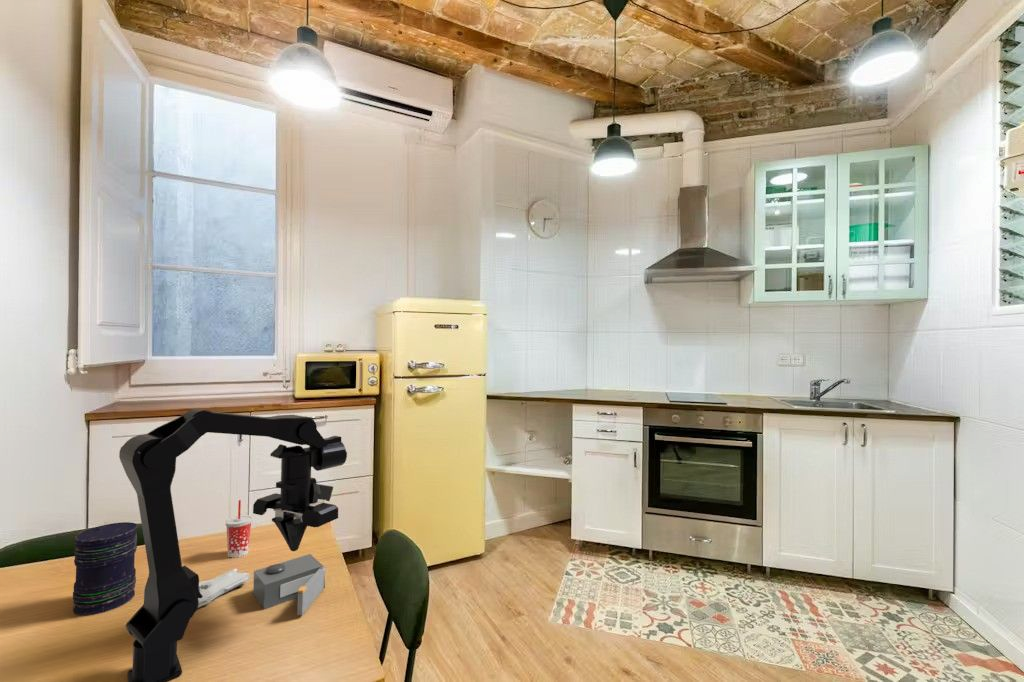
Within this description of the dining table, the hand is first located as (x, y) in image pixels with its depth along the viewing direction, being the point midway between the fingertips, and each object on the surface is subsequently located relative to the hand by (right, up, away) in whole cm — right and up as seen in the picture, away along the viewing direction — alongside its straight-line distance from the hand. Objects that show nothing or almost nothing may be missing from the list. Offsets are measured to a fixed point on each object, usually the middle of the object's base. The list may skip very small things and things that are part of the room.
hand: (294, 550), depth 92 cm
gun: (-22, -12, +3) cm, 26 cm away
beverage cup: (-27, -12, +24) cm, 38 cm away
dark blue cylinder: (-41, -12, +1) cm, 42 cm away
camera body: (-4, -12, +6) cm, 14 cm away
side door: (+3, -11, +2) cm, 12 cm away
